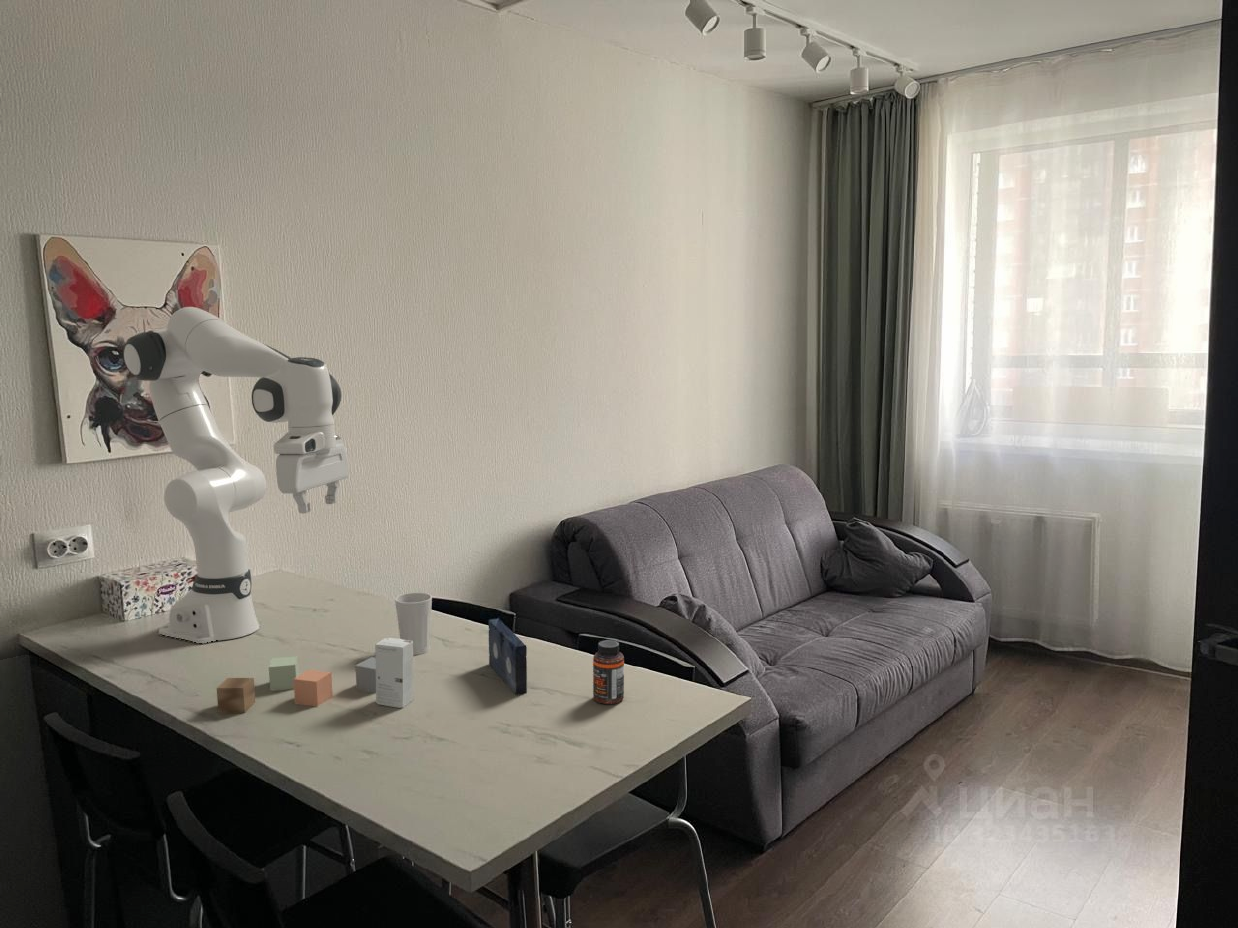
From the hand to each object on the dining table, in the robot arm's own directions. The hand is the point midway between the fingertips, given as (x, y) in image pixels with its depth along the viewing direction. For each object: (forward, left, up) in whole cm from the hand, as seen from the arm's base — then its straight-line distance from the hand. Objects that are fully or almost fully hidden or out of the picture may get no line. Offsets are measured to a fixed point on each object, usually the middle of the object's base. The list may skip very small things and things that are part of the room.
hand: (318, 508), depth 189 cm
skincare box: (+21, -9, -35) cm, 42 cm away
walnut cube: (-7, -19, -35) cm, 41 cm away
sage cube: (-5, -7, -35) cm, 36 cm away
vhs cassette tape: (+37, +8, -36) cm, 52 cm away
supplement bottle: (+60, +3, -35) cm, 69 cm away
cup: (+11, +18, -35) cm, 41 cm away
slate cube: (+13, -3, -35) cm, 38 cm away
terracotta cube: (+5, -12, -35) cm, 38 cm away
